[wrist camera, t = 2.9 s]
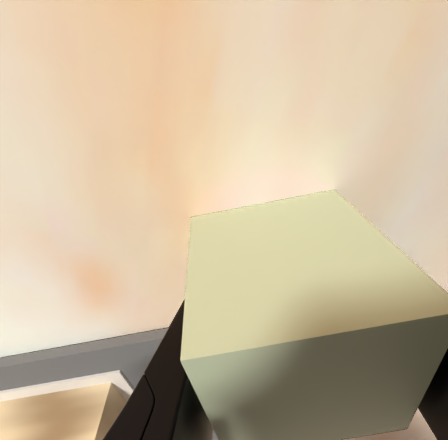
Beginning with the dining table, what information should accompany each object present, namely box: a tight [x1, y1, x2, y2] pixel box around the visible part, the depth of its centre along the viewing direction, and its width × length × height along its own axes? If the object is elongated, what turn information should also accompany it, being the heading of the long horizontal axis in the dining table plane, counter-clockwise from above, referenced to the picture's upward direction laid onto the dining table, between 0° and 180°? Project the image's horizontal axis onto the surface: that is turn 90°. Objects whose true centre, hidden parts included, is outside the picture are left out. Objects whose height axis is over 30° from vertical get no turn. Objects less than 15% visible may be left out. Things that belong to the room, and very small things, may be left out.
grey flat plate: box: [0, 328, 218, 440], centre depth 15 cm, size 16×12×1 cm
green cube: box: [180, 190, 448, 440], centre depth 8 cm, size 5×5×5 cm
